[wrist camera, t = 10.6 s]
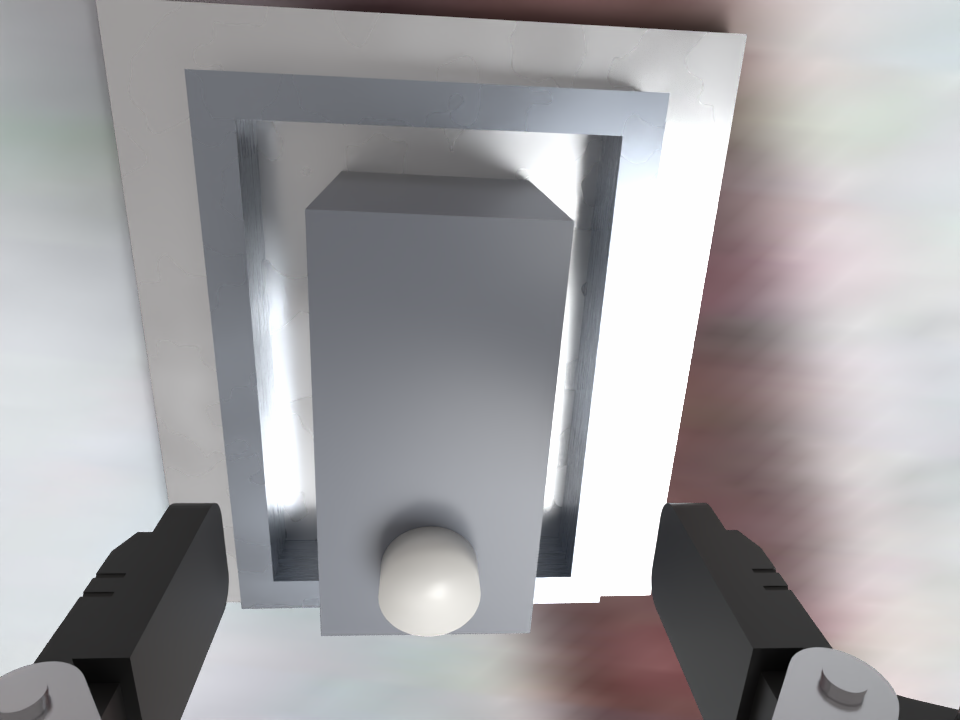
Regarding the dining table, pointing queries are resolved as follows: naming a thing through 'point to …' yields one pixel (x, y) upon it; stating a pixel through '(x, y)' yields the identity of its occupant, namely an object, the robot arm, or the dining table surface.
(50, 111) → the dining table surface
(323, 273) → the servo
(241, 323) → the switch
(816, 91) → the dining table surface
